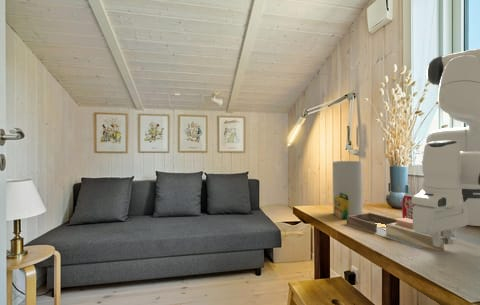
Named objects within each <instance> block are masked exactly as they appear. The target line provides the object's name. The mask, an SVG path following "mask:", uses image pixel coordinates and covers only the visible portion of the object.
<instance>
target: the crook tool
mask: <svg viewBox="0 0 480 305" xmlns="http://www.w3.org/2000/svg"><path fill="white" fill-rule="evenodd" d="M386 235H389V236H392V237H395V238H398V239H402V240H405V241H408V242H411V243H415V244H418V245H421V246H424V247H423V248H428V249H432V250H434V251H438V252H441V251H445V244H444V237H440V238H441V240H443V243H442V244H443V246H440V247H437V246H434V245H433V239H432V237H431V235H430V234H429V235H425V234H422V233H418V232H416V231H415V230H414V229H410V228H406V227H402V226H398V225H396V222H395V223H391V224H386Z"/></svg>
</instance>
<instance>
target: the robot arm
mask: <svg viewBox="0 0 480 305" xmlns="http://www.w3.org/2000/svg"><path fill="white" fill-rule="evenodd" d="M426 78H427V80H428V83H430V84H431V85H433V86H438V92H437V104H438V106H439V108H440V109H441V110H442V111H443V112H444V113H446V114H448V116H449V118H451V119H452V120H455V121H457V122H460V123H463V124H465V125H467V126H465V127H451V128H449V127H447V128H441V129H436V130H431V132H430V133H429V134H428V135H427V136H426V141H425V143H426V144H425V145H424V149H423V155H422V174H423V182H422V189H420V190H419V192H417V193H415V194H416V195H414V196H413V197H412V203H413V204H416V205H415V206H414V207H413V228H414V230H415V231H416V232H418V233H422V234H425V235H429V234H430V235H431V237H432V239H433V245H434V246H437V247H440V246H443V244H442V243H443V240H441V238H440V235H441V232H442V231H444V233H443V237H444V245H446V246H447V245H451V244H452V240H451V237H453V235H454V232H455V230H454V229H459V228H462V227H466V226H472V227H473V226H474V227H476V226H477V227H480V48H475V49H473V48H472V49H469V50H468V49H466V50H465V51H460V52H454V53H451V54H447V55H444V56H443V55H440V56H437V57H435V58H433V59H431V61H430V62H428V66H427V69H426Z"/></svg>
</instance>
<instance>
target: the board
mask: <svg viewBox="0 0 480 305" xmlns="http://www.w3.org/2000/svg"><path fill="white" fill-rule="evenodd" d="M368 222H372V223H377V222H374V221H368ZM346 225H347V226H350V227H353V228H356V229H359V230H361V231H364V232H365V231H366V232H368V233H371V234H375V235H378V236H380V237H384V238H386V239H390V240H392V241H395V242H399V243H401V244H405V245H408V246H410V247H414V248H416V249H423V248H425V247H424V246H421V245H418V244H415V243H411V242H408V241H405V240H402V239H398V238H395V237H392V236H389V235H386V231H384V230H382V229H380V228H378V227H377V232H376V233H374V232H371V231H368V230H365V229H362V228H359V227H356V226H353V225H350V224H347V223H346ZM456 239H457V238H456V237H453V236H452V237H451V241H452V240H456Z"/></svg>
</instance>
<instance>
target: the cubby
mask: <svg viewBox="0 0 480 305" xmlns="http://www.w3.org/2000/svg"><path fill="white" fill-rule="evenodd" d="M396 220H397V218H393V217H389V216H386V215H381V214H377V213H374V212H369V211H368V212H363V213H362V214H356V215H350V216H347V220H346V225H347V224H350V225H353V226H356V227H359V228H362V229H365V230H368V231H371V232H374V233H376V232H377V224H375V223H372V222H368V221H374V222H377V223H381V224H385V225H386V224H391V223H395V222H396ZM350 225H349V226H350ZM353 226H352V227H353ZM356 227H355V228H356ZM359 228H358V229H359ZM362 229H361V230H362ZM365 230H364V231H365ZM368 231H367V232H368ZM371 232H370V233H371ZM374 233H373V234H374Z"/></svg>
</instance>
